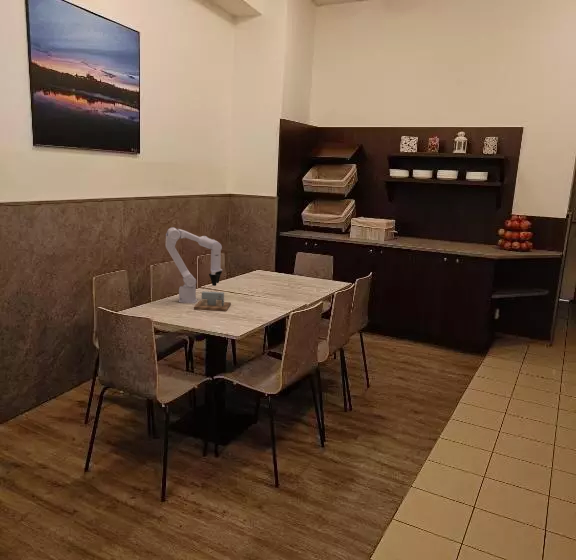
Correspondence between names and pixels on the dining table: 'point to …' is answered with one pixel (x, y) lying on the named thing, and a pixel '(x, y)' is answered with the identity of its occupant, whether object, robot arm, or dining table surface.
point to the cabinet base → (218, 307)
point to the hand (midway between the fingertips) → (215, 284)
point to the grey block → (213, 297)
